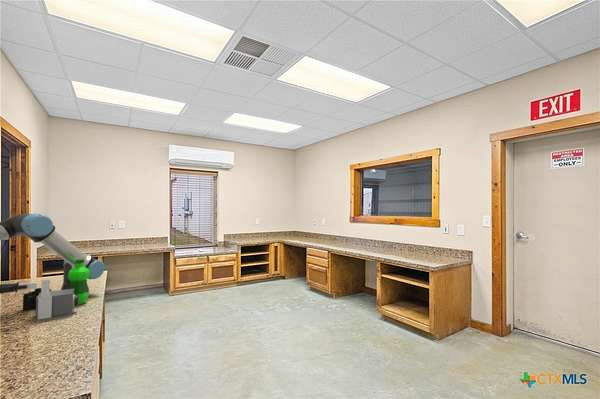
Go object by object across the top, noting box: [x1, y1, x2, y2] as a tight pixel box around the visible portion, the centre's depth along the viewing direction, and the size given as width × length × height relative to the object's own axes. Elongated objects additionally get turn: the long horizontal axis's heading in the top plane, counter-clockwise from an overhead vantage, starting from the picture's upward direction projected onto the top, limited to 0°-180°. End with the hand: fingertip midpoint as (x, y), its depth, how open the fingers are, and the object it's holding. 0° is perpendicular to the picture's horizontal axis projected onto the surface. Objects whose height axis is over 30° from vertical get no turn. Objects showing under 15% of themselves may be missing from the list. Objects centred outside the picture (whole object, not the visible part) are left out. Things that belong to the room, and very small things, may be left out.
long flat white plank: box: [38, 278, 52, 320], centre depth 147 cm, size 1×5×18 cm, turn 123°
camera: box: [22, 287, 52, 312], centre depth 167 cm, size 14×11×10 cm
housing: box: [35, 289, 80, 323], centre depth 155 cm, size 13×16×11 cm
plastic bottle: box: [68, 259, 90, 306], centre depth 173 cm, size 10×10×25 cm
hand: (36, 285), depth 145 cm, fingers closed
